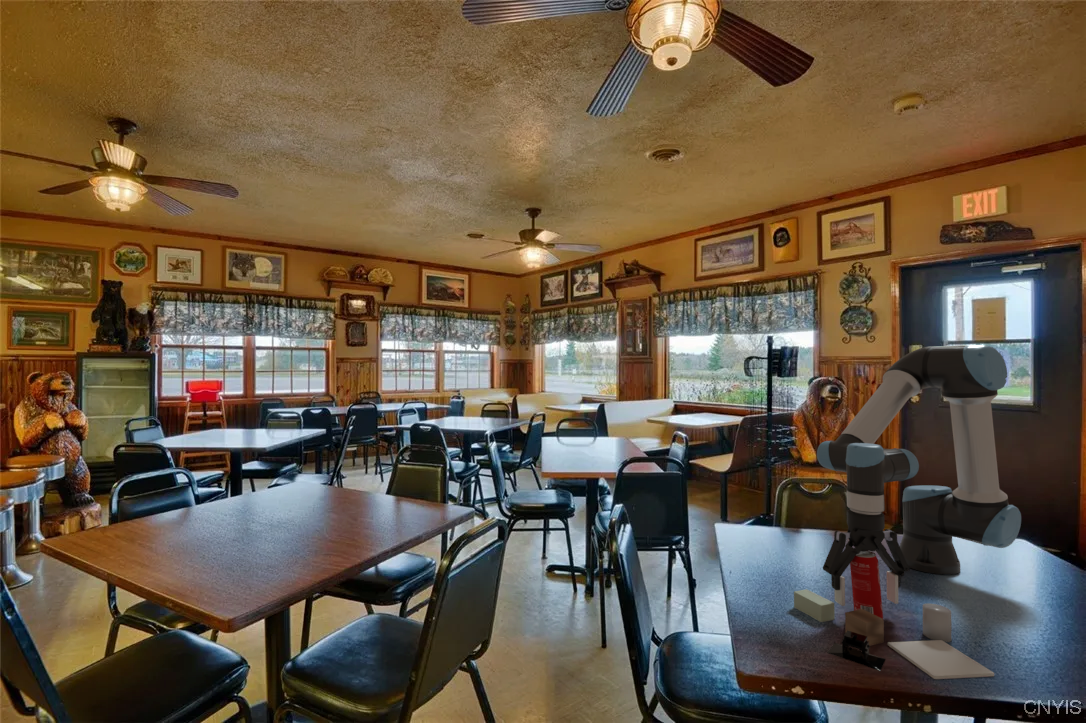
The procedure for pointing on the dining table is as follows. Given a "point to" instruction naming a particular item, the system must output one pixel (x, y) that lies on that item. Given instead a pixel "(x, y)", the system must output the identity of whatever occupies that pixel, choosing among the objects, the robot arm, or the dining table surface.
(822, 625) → the dining table surface
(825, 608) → the sage brick
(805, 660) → the dining table surface
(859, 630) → the walnut block
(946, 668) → the tile
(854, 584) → the beverage can
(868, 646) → the black angular piece
